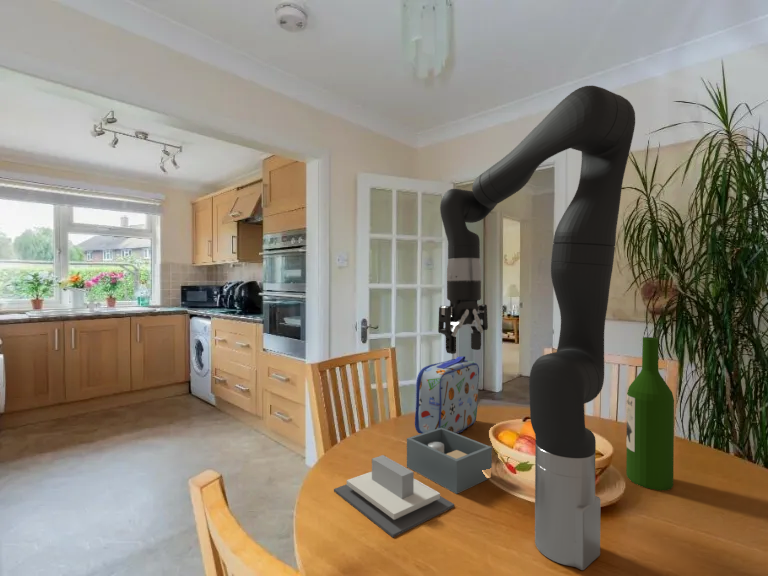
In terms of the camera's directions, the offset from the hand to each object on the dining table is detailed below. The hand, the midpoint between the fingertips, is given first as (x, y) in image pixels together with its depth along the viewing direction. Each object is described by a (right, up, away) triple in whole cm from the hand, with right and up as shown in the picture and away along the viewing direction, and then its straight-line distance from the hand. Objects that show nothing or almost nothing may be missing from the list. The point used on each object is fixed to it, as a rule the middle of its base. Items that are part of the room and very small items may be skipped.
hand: (464, 351), depth 90 cm
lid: (-16, -29, -7) cm, 34 cm away
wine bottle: (+42, -30, +1) cm, 52 cm away
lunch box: (+2, -30, +33) cm, 44 cm away
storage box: (-3, -30, +5) cm, 30 cm away
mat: (-16, -30, -7) cm, 34 cm away
